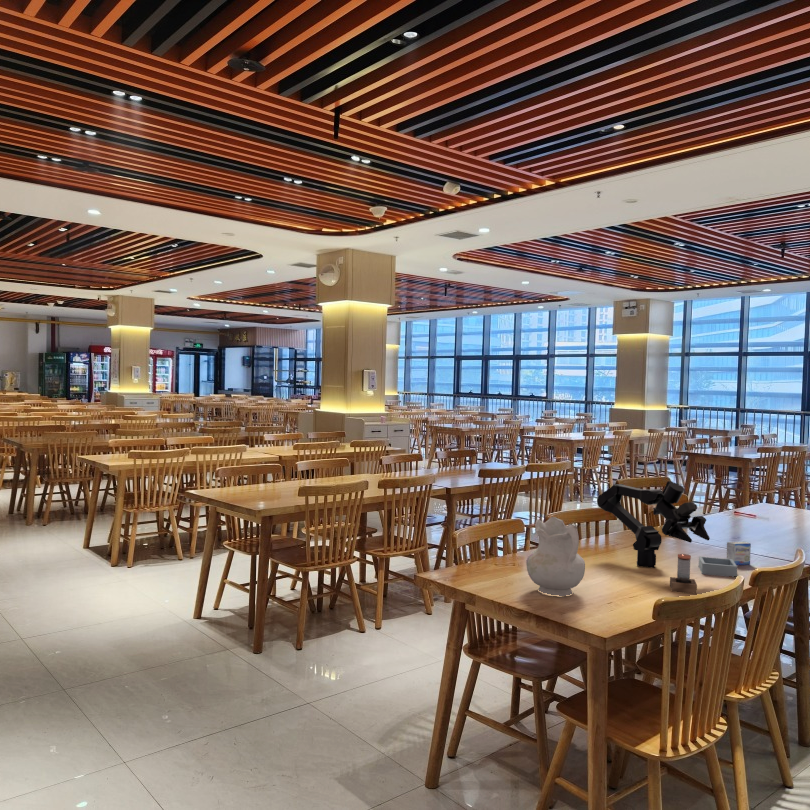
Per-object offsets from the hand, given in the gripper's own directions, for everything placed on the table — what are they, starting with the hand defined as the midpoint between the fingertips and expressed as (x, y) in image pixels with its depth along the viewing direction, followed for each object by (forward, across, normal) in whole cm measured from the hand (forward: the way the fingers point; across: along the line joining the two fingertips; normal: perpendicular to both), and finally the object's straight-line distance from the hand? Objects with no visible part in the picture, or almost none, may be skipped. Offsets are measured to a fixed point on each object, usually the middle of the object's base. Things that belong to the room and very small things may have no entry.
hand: (700, 540), depth 252 cm
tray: (+1, +19, +17) cm, 26 cm away
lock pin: (+11, -13, +11) cm, 21 cm away
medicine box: (-4, +38, +20) cm, 43 cm away
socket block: (+11, -13, +11) cm, 21 cm away
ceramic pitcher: (-1, -57, +18) cm, 60 cm away
